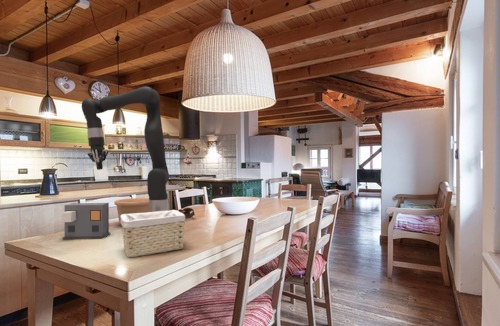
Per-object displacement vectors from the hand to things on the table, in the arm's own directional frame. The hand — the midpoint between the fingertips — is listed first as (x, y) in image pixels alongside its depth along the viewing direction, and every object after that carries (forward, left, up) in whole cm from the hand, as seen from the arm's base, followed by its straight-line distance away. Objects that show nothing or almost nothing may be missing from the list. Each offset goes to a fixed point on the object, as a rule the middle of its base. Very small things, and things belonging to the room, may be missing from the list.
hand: (99, 169), depth 151 cm
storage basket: (-50, +12, -33) cm, 61 cm away
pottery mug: (-20, -47, -33) cm, 61 cm away
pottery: (-4, -20, -33) cm, 39 cm away
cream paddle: (-4, +18, -24) cm, 30 cm away
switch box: (-6, +11, -33) cm, 35 cm away
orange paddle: (-11, +9, -24) cm, 28 cm away
